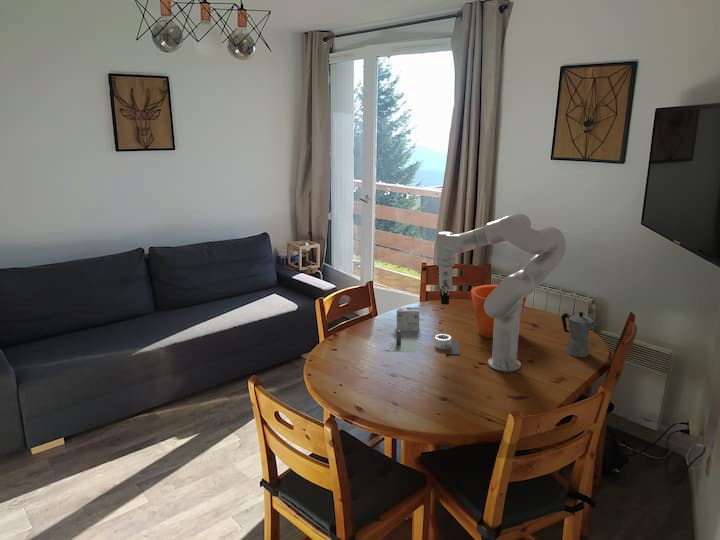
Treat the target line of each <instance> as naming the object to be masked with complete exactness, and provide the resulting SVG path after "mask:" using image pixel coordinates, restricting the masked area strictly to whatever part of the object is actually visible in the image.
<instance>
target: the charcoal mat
mask: <svg viewBox="0 0 720 540" xmlns="http://www.w3.org/2000/svg"><path fill="white" fill-rule="evenodd" d="M444 353H445V354H452V355H451V356H460V355H461V354H460V353H461V352H460V345H459V341H458V340H451V348H450V349H449V350H445V349H444Z"/></svg>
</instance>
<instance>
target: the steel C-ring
mask: <svg viewBox="0 0 720 540" xmlns="http://www.w3.org/2000/svg"><path fill="white" fill-rule="evenodd" d="M451 341H452V336H451V335H449V334H445V333H440V334H436V335H434V348H436V349H439V350H444V351H445V350H449V349H450V348H451Z"/></svg>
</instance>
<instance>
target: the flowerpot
mask: <svg viewBox="0 0 720 540" xmlns="http://www.w3.org/2000/svg"><path fill="white" fill-rule="evenodd" d="M498 285H499V284H484V285H478V286H477V285H476V286H475V287H472V288H471V289H470V295H471V300H472V305H473V310H474V315H475V319H476V324H477V325H476V326H477V329H478V333H479V335H481V337H483V336H484V338H486V339H489V338H490V339H491V340H493V331H494V318H491V317H490V316H488V315H487V314H486V312H485V309H484V302H485V300H486V298H487V297H488V295H489V294H490V293H491V292H492V291H493V290H494V289H495V288H496V287H497V286H498ZM527 298H528V296H526V297H524V298H523V304H522V310H521V314H520V318H521V317H522V314H523V311H524V307H525V304H526V302H527Z"/></svg>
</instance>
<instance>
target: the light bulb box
mask: <svg viewBox="0 0 720 540" xmlns="http://www.w3.org/2000/svg"><path fill="white" fill-rule="evenodd" d="M398 330H402V331H403V332H404V331H409V332H413V331H414V332H420V308H419V306H397V307H396V331H398ZM402 331H401V332H402Z"/></svg>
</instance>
